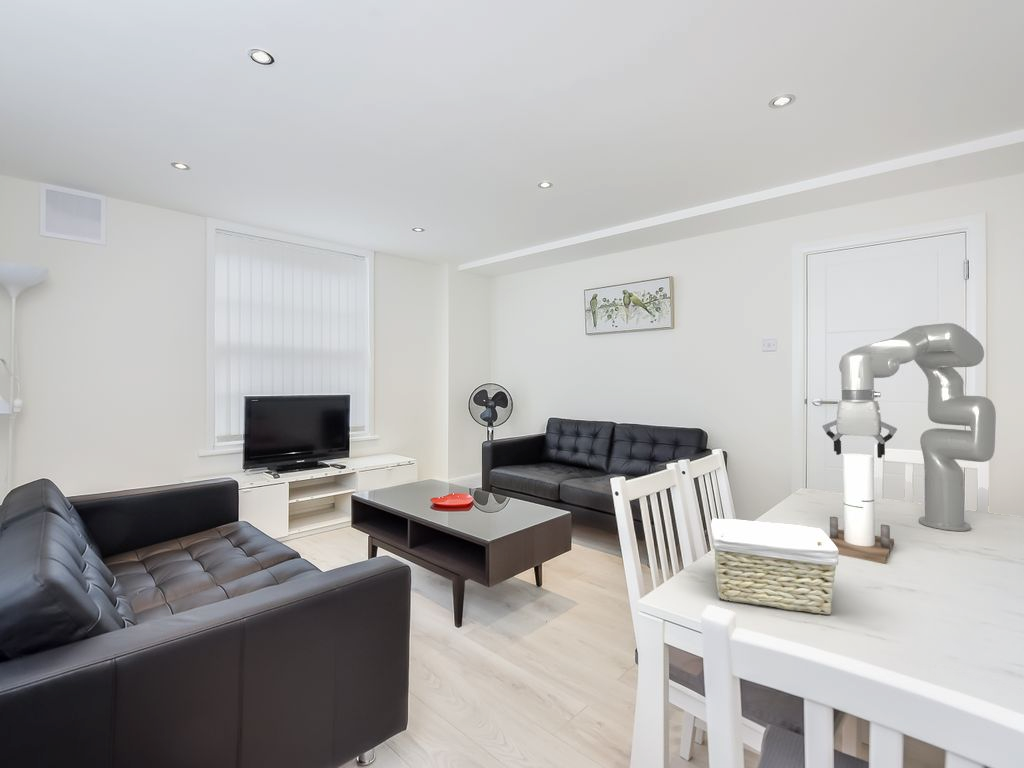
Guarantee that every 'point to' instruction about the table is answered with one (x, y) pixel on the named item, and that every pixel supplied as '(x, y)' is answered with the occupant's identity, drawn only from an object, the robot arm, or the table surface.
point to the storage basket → (774, 564)
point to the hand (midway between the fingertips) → (858, 455)
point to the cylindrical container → (858, 499)
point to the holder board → (870, 553)
